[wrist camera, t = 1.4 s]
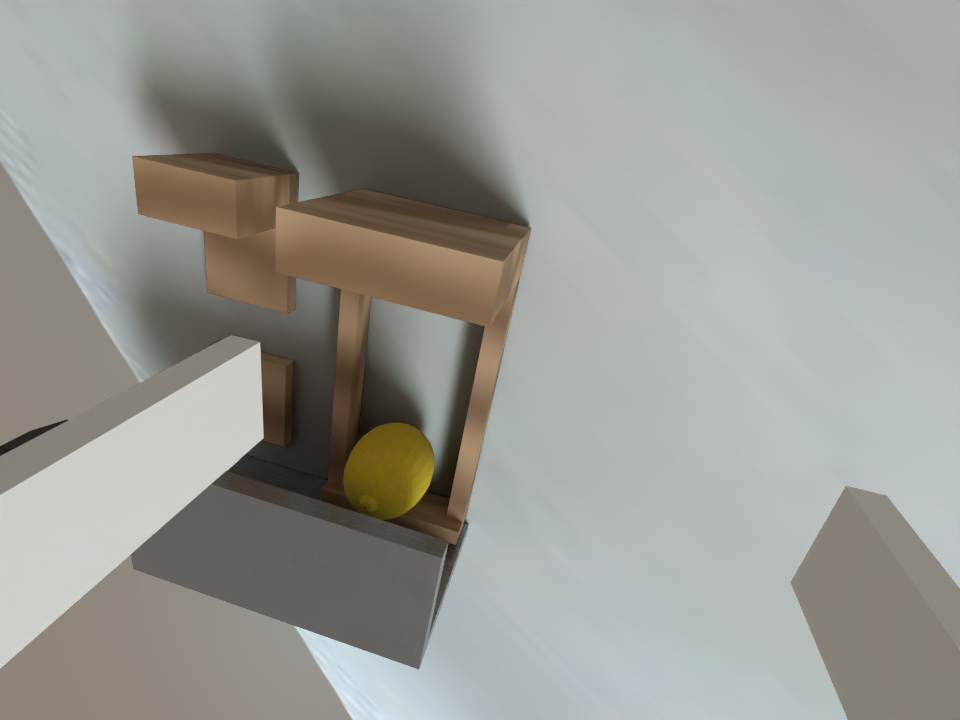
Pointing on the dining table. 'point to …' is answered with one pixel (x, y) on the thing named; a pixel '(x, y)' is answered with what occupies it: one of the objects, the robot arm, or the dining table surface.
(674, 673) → the dining table surface
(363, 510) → the lemon
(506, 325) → the wooden frame
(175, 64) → the dining table surface
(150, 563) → the shelf
